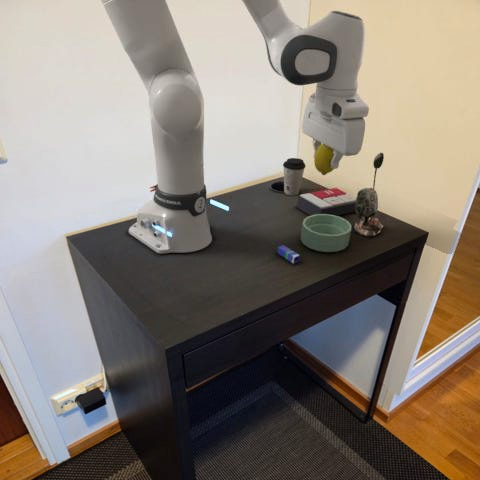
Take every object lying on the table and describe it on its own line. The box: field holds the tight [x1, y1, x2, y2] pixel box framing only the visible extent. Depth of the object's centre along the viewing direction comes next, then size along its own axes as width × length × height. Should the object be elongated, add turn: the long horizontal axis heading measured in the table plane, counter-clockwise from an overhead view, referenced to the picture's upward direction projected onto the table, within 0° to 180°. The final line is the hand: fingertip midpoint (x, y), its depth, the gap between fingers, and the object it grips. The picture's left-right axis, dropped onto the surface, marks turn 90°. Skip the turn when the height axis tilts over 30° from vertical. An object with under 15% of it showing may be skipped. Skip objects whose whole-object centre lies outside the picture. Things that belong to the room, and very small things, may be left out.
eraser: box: [277, 244, 301, 265], centre depth 108 cm, size 2×6×2 cm, turn 36°
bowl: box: [300, 214, 353, 253], centre depth 114 cm, size 12×12×5 cm
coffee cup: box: [282, 157, 306, 196], centre depth 138 cm, size 7×7×10 cm
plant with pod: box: [353, 152, 385, 237], centre depth 115 cm, size 8×11×20 cm
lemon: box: [313, 143, 335, 176], centre depth 106 cm, size 6×6×8 cm
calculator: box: [296, 187, 357, 216], centre depth 130 cm, size 11×4×15 cm
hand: (325, 163), depth 107 cm, fingers closed on lemon, 5 cm apart
